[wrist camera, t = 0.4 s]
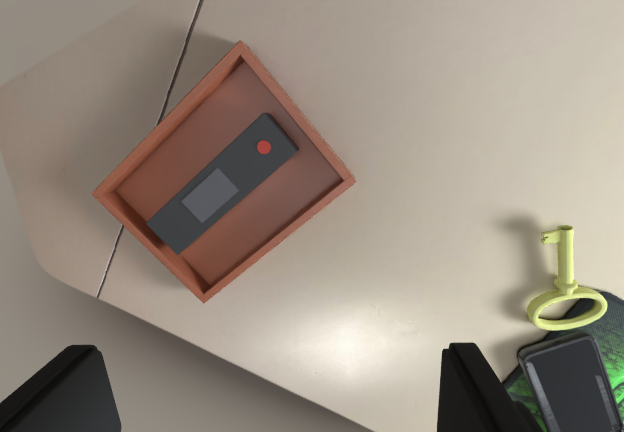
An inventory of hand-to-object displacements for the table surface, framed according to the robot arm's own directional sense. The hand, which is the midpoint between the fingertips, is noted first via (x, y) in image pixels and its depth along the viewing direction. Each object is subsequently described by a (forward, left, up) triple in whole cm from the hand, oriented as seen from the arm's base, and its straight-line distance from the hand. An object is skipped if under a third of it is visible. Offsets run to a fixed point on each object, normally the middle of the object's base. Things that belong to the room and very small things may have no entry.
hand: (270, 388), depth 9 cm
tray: (-6, -6, -25) cm, 27 cm away
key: (+24, +14, -25) cm, 37 cm away
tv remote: (-6, -6, -25) cm, 26 cm away
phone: (+37, +8, -25) cm, 45 cm away
